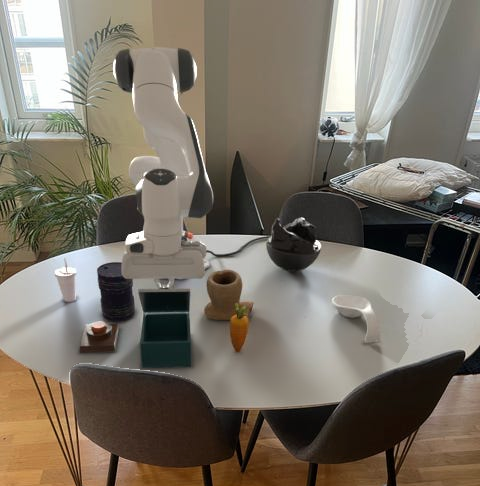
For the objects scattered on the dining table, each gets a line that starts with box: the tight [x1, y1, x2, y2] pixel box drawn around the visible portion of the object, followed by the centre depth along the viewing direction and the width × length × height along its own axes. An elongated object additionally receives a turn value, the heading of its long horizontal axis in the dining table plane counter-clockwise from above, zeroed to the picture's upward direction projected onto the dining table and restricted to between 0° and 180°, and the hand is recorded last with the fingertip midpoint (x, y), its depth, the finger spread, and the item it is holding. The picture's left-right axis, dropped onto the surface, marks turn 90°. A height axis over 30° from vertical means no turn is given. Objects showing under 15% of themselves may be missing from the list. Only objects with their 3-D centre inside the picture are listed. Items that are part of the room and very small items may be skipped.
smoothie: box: [54, 258, 78, 303], centre depth 144 cm, size 6×6×14 cm
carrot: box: [229, 303, 250, 354], centre depth 124 cm, size 5×5×15 cm
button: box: [91, 320, 106, 333], centre depth 127 cm, size 4×4×2 cm
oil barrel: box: [96, 261, 136, 323], centre depth 138 cm, size 10×10×15 cm
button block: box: [78, 322, 120, 354], centre depth 128 cm, size 11×9×4 cm
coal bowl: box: [265, 216, 322, 272], centre depth 171 cm, size 20×20×19 cm
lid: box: [137, 288, 191, 314], centre depth 121 cm, size 15×13×1 cm
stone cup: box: [203, 269, 255, 321], centre depth 140 cm, size 15×12×15 cm
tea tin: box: [139, 312, 192, 369], centre depth 125 cm, size 15×13×8 cm
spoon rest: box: [331, 294, 382, 344], centre depth 143 cm, size 24×12×7 cm, turn 12°
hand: (164, 292), depth 118 cm, fingers closed, pressing on lid
